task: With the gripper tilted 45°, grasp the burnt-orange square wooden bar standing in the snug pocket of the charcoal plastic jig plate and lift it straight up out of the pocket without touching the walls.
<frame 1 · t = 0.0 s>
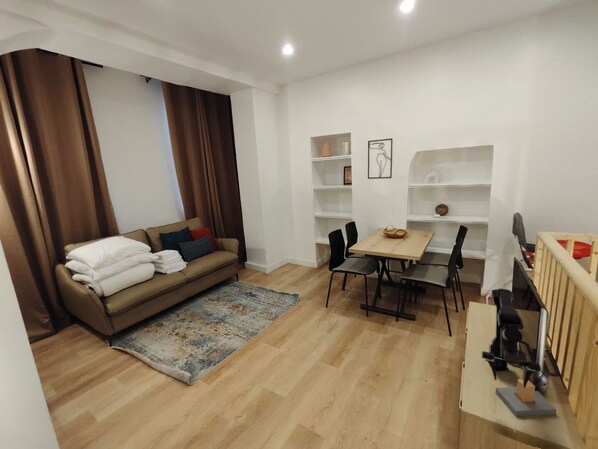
hand: (509, 383, 110), 15 cm above the table, tool tilted 35°, fingers open, 9 cm apart
jig plate: (524, 402, 118), on the table
orange bar: (524, 403, 118), resting in jig plate
medicine bottle: (509, 350, 150), on the table
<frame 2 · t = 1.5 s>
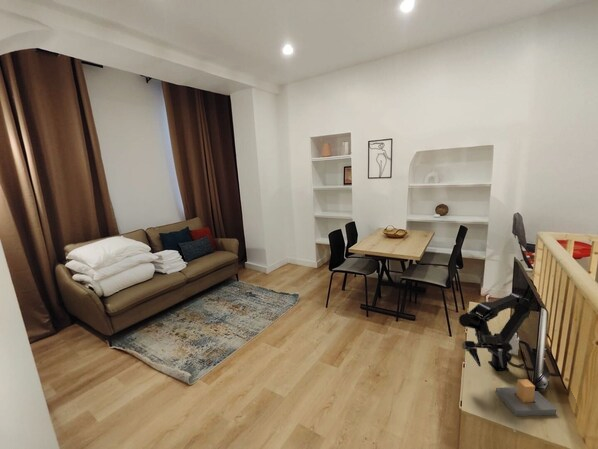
hand: (491, 367, 121), 14 cm above the table, tool tilted 45°, fingers open, 9 cm apart
nothing on the table moved.
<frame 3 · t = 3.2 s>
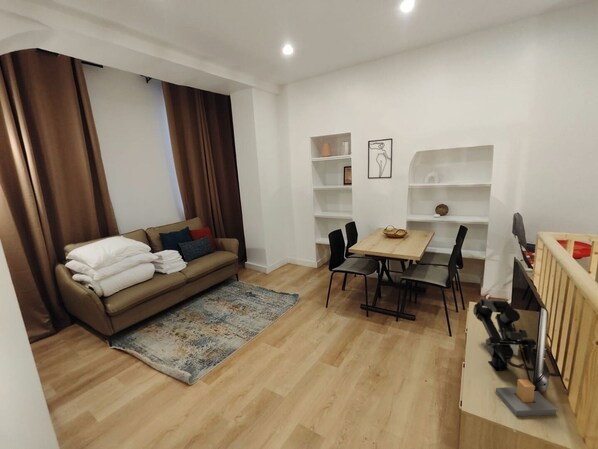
hand: (516, 363, 122), 14 cm above the table, tool tilted 45°, fingers open, 9 cm apart
nothing on the table moved.
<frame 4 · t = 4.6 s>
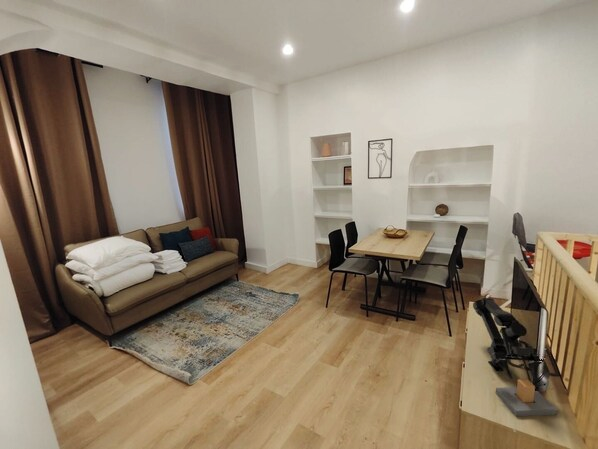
hand: (523, 379, 118), 10 cm above the table, tool tilted 45°, fingers open, 9 cm apart
nothing on the table moved.
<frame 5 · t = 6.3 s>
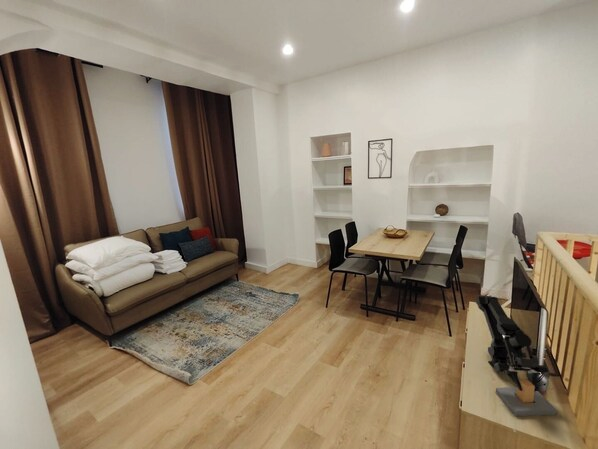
hand: (527, 391, 115), 7 cm above the table, tool tilted 45°, fingers closed on orange bar, 4 cm apart
orange bar: (524, 402, 118), resting in jig plate, touching gripper
everything else where it was.
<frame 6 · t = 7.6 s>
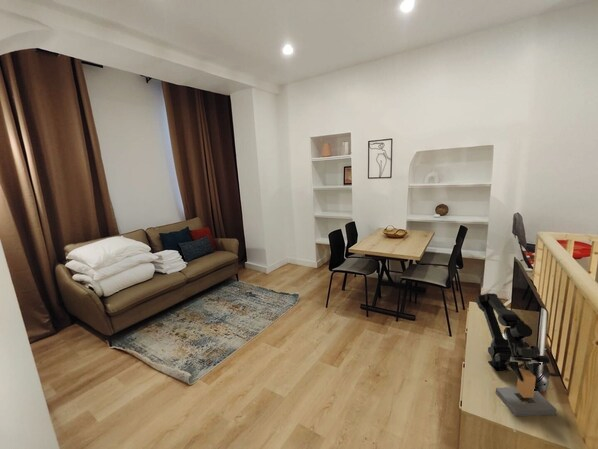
hand: (528, 381, 114), 12 cm above the table, tool tilted 45°, fingers closed on orange bar, 4 cm apart
orange bar: (524, 393, 117), point 5 cm above the table, touching gripper
everything else where it was.
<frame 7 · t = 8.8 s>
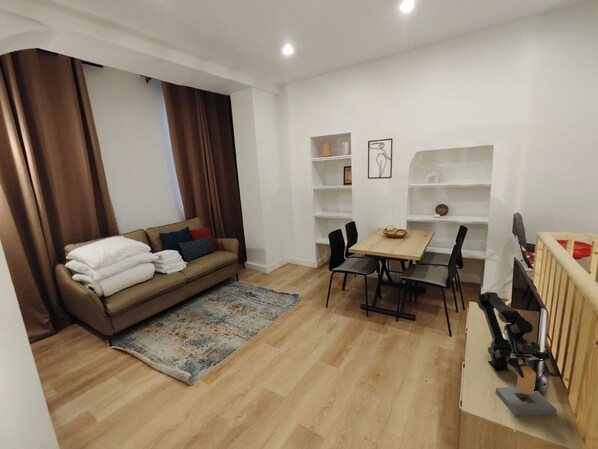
hand: (528, 378, 114), 14 cm above the table, tool tilted 45°, fingers closed on orange bar, 4 cm apart
orange bar: (525, 390, 116), point 6 cm above the table, touching gripper
everything else where it was.
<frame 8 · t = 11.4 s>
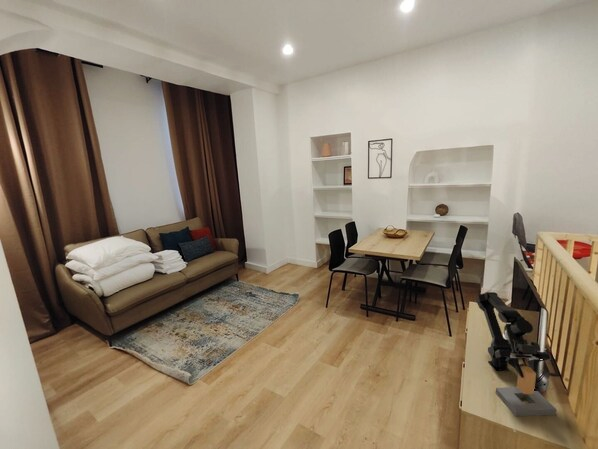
hand: (528, 378, 114), 14 cm above the table, tool tilted 45°, fingers closed on orange bar, 4 cm apart
orange bar: (525, 390, 116), point 6 cm above the table, touching gripper
everything else where it was.
at the end: orange bar point 6.4 cm above the table; orange bar 0.1 cm from the jig plate (horizontally); the gripper is holding orange bar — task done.
